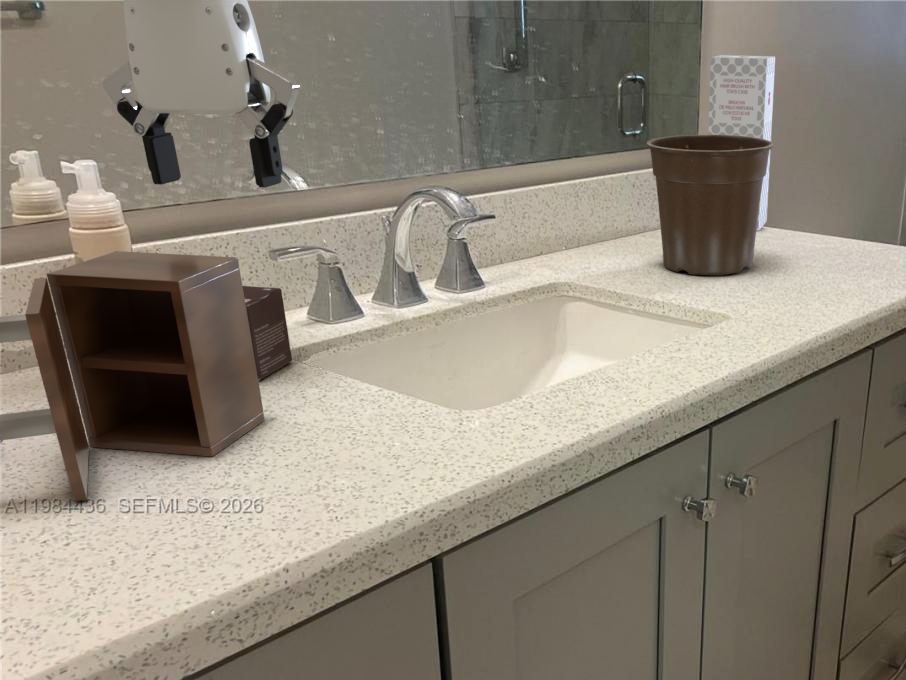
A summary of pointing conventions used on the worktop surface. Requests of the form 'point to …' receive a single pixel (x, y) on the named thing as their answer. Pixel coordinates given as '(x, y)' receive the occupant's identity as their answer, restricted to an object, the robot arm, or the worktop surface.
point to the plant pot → (709, 200)
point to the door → (49, 387)
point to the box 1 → (267, 328)
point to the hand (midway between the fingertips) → (218, 183)
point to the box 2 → (743, 104)
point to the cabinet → (159, 351)
